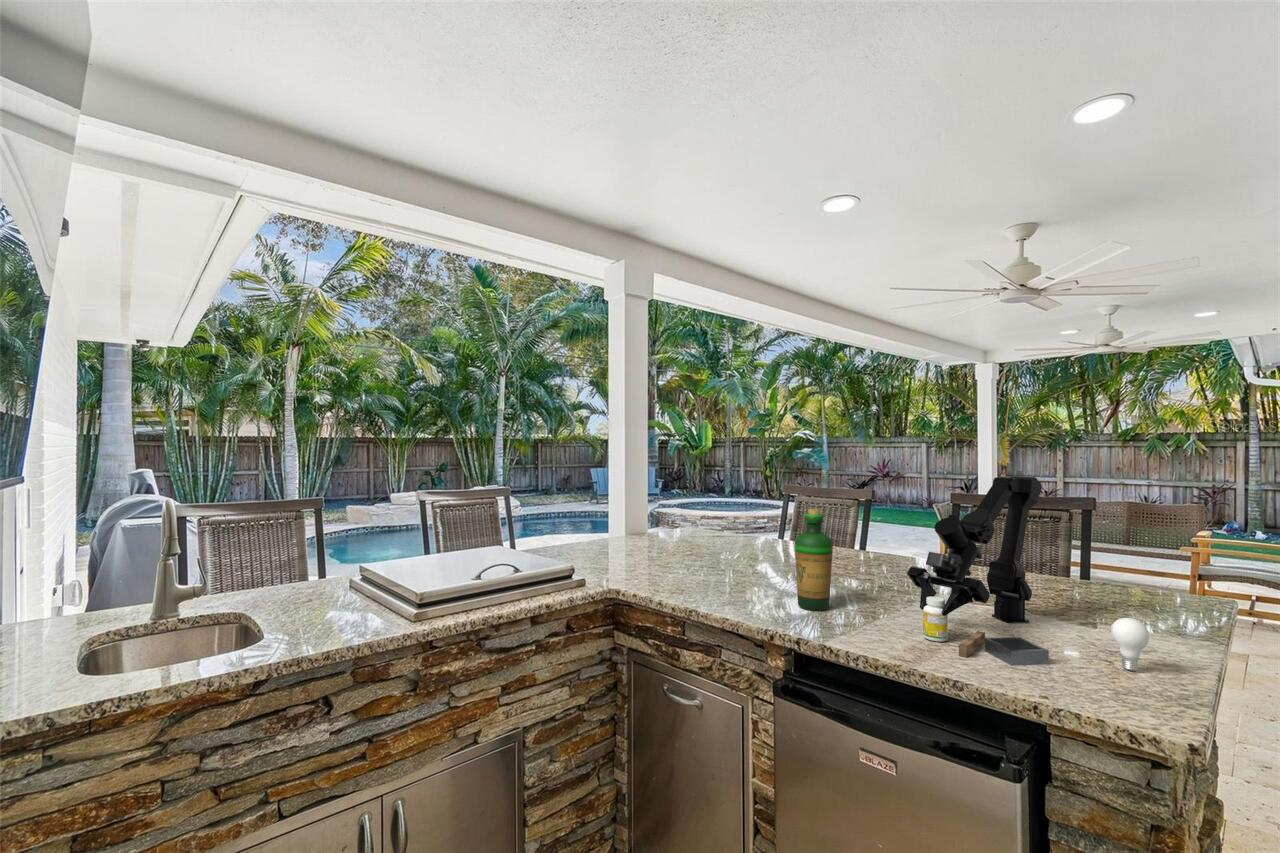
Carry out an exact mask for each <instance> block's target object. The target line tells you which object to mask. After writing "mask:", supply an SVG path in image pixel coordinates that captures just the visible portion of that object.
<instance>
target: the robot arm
mask: <svg viewBox="0 0 1280 853" xmlns="http://www.w3.org/2000/svg"><path fill="white" fill-rule="evenodd" d="M1042 486H1043V485H1042V482H1040V481H1039V480H1038V478H1036V477H1035V476H1024V475H1023V476H1020V475H1010V476H997V477H994V478H993V480H992V485H991V486H990V488H989V489H988V491H987V492H986V494H985V496H984V497H983V498H982V500H981V501H980V503H979V504H978V505H977V507H976V509H975V510H973V511H972V512H970V513H967V514H965V515H964V516H963V517H962V518H961V519H960V518H959V516H958V515H957V514H951V513H950V514H949V515H948V516H947V517H945V518H941V519H940V520H938V521H937V522H936V523H935V525H934V532H935V533H936V535H938V537H939V539H940V540H941V542H942V543H943V544H944V546H945V547H946V548H947V549H949V551H948V553H947V554H945V553H944V554H943V553H938V552H933V551H928V555H927V557H926V558H927V559H926V562H925V565H927V566H930V567H931V568H932V572H933V573H934V574H935V575H932V574H930V572H928V570H927V569H926V568H923V567H919V566H915V565H914V566H913V565H912V566H910V567H909V568H908V570H907V572H906V575H907V576H908V578H909V579H910V580H911V582H912V583H913V584H914V586H915V587H917V588H920V599H919V602H920V603H919V608H920V610H921V611H923V609H924V607H925V606H926V605H928V604H927V602H926V599H927V597H936V595H937V591H936V590H935V588H934V587H935V585H937V586H940V587H944V588H949V589H950V590H951V591H950V594H949V596H948V598H947V599H946V601H945V605H944V607H943V610H942V615H943V616H945V615H947V614H948V615H949V614H950V613H952V612H954V611H955V610H957V609H958V608H960V607H962V606H964V605H967V604H969V603H970V604H973V603H974V601H975V602H978V603H982V604H987V603H988V601H989V599H990V595H995V600H994V602H993V603H994V604H993V609H994V611H993V613H991V617H993V618H995V619H997V620H999V621H1003V622H1004V623H1007V624H1009V623H1010V624H1011V623H1012V624H1013V623H1015V624H1016V623H1018V624H1019V623H1021V624H1022V623H1030V619H1027V618H1026V602H1030V600H1031V599H1032V594H1033V590H1032V589H1031V587H1030V586H1029V584H1028V582H1027V580H1026V571H1025V568H1024V567H1023V566H1022V565H1023V564H1022V563H1021V559H1022V554H1023V547H1024V543H1025V536H1026V530H1027V524H1028V519H1029V514H1030V510H1031V509H1033V507H1034V506H1035V505H1036V504H1037V503H1038V501H1039V498H1040V495H1041V492H1042V489H1043V487H1042ZM1006 504H1007V506H1008V508H1007V513H1006V518H1005V524H1004V528H1003V535H1002V539H1001V540H1002V541H1001V546H1000V547H1001V548H1000V552H999V556H998V557H997V559H996V560H991V561H990V562H989V565H988V566H989V567H988V572H987V574H986V575H987V576H986V582H987V586H988V589H987V587H986V586H985V584H984V582H983V581H982V580H981V579H978V578H971V577H970V576H971V575H972V572H971V570H970V569H971V567H972V566H973V563H974V560H975V559H979V560H980V559H982V554H981V552H980V548H979V547H978V546H977V545H976V544H981V545H987V544H989V543H990V541H991V540H992V539H993V536H994V533H995V531H996V529H995V524H994V523H995V522H996V520H997V518H998V517H999V515H1000V513H1001V512H1002V511H1003V509H1004V507H1005V505H1006Z"/></svg>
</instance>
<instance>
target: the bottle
mask: <svg viewBox="0 0 1280 853" xmlns="http://www.w3.org/2000/svg"><path fill="white" fill-rule="evenodd" d="M820 511H821V510H820V509H819V508H808V509H807V513H805V514H804V520H803V522H804V523H805V528H806V529H805V531H802V532H800V533H799V534H797V536H796V538H795V539H794V553H795V554H794V555H795V570H796V571H795V574H796V592H797V593H796V595H797V596H796V597H797V605H798V607H800V608H801V609H803V610H807V611H811V612H812V611H813V612H822V611H826V610H827V609H829V608H830V598H831V597H830V595H831V582H832V581H831V580H832V568H833V567H832V566H833V552H834V550H833V549H834V542H833V541H832V539H831V538H830V536H828V534H826V533H825V532H824V531H822V526H823V525H822V524H823V523H825V522H824V518H823V513H820Z"/></svg>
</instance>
